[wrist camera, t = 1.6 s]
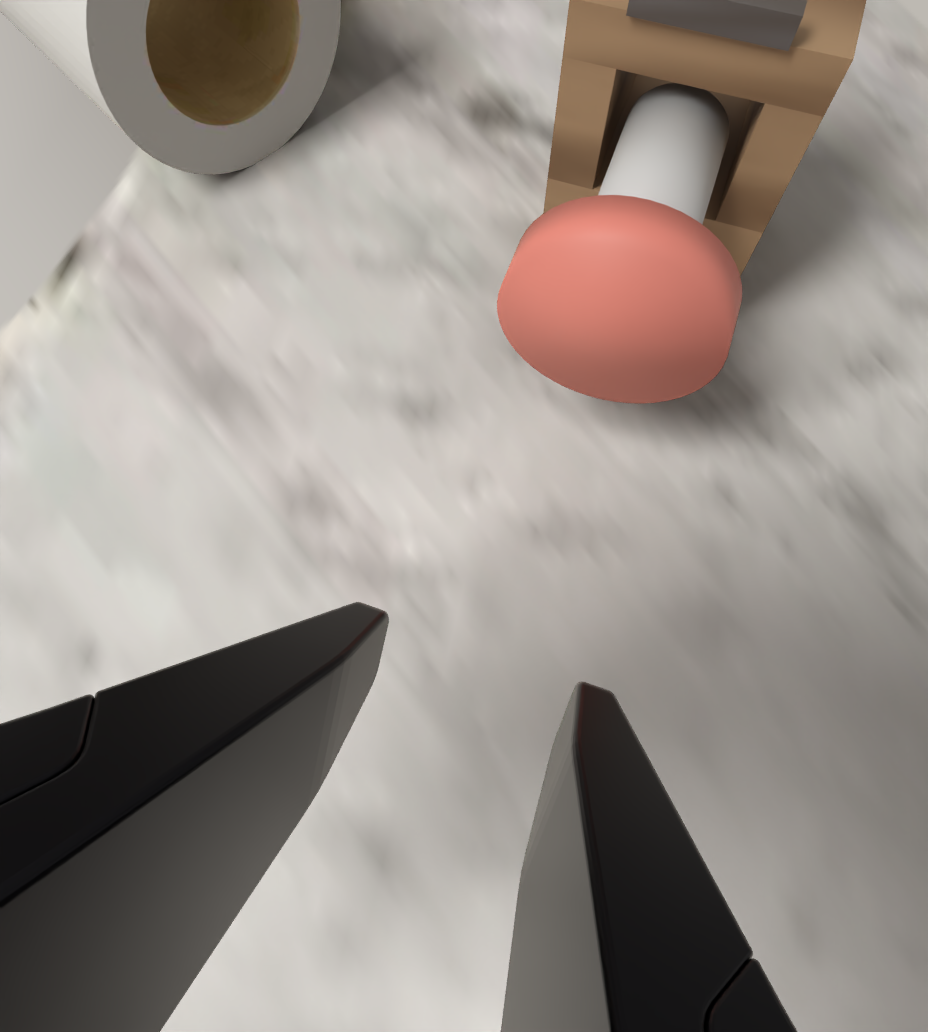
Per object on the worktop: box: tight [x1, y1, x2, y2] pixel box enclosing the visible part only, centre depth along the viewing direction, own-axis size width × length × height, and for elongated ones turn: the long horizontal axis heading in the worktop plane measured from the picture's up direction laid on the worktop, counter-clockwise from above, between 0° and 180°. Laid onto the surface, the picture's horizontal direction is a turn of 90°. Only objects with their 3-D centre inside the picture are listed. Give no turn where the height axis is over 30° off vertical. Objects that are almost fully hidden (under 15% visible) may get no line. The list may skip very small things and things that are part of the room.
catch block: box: [543, 0, 866, 276], centre depth 22 cm, size 6×7×11 cm
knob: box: [497, 83, 742, 403], centre depth 19 cm, size 8×6×6 cm
